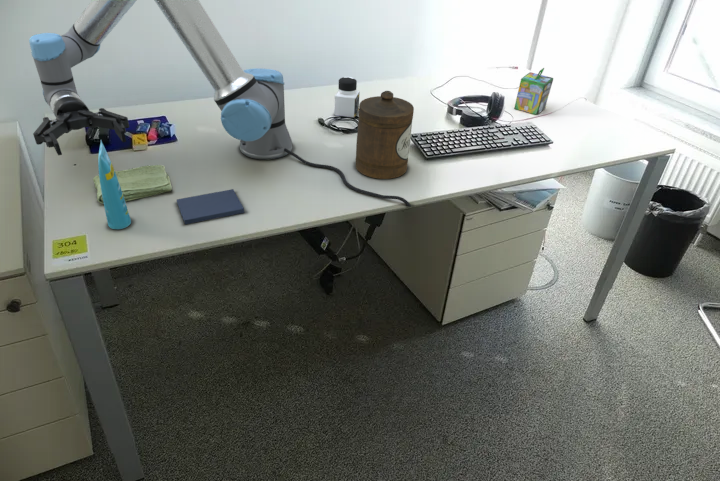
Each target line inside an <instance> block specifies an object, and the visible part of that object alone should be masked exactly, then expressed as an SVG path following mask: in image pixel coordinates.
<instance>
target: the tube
mask: <svg viewBox="0 0 720 481" xmlns="http://www.w3.org/2000/svg"><path fill="white" fill-rule="evenodd" d="M97 161H98V162H97V164H98V167H97V168H98V175H99V178H100V185H101V191H102V197H103V202H104V204H103V207H104V212H105V216H106V217H105V218H106V221H107V225H108V227H109V228H110V229H112V230H123V229H125V228H128V227H129V226H130V225H131V224H132V219H131V215H130V212H129V209H128V205H127V203H126V202H127V201H125V199H124V196H123V193H122V190H121V187H120V184H119V182H118V179H117V176H116V173H115V171H116V170H115V169H114V165H113V163H112V161H111V158H110V156H109V154H108V152H107V150H106V148H105V145H104V143H103V141H102V140H100V144H99V150H98V158H97Z"/></svg>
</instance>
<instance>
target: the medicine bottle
mask: <svg viewBox="0 0 720 481" xmlns="http://www.w3.org/2000/svg"><path fill="white" fill-rule="evenodd" d="M357 83H358V81H357V79H356V78H354V77H352V76H343V77H340V78H339V79H338V90H337V92H336V93H335V94H334V110H333V111H334V116H337V117H345V118H352V119H355V117H356V116H357V114H358V113H359V105H360V90H357V87H358V85H357Z"/></svg>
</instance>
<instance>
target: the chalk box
mask: <svg viewBox="0 0 720 481" xmlns="http://www.w3.org/2000/svg"><path fill="white" fill-rule="evenodd" d="M544 70H545V67H543V68H541V69H540V70H539V72H538V73H534V72H531V71H529V72H528V73H527V74H525V75H524V76H523V77H521V79H520V82H519V87H518V91H517V95H516V99H515V104H514V107H513V109H514V110H518V111H521V112H525V113H528V114H531V115H536V116H538V115H539V114H540V113H541V112H542V111H544V110H545V109H546V107H547V103H548V99H549V95H550V92H551V89H552V85H553V82H554V77H552V76H551V77H550V76H547V75H543V72H544Z"/></svg>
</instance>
